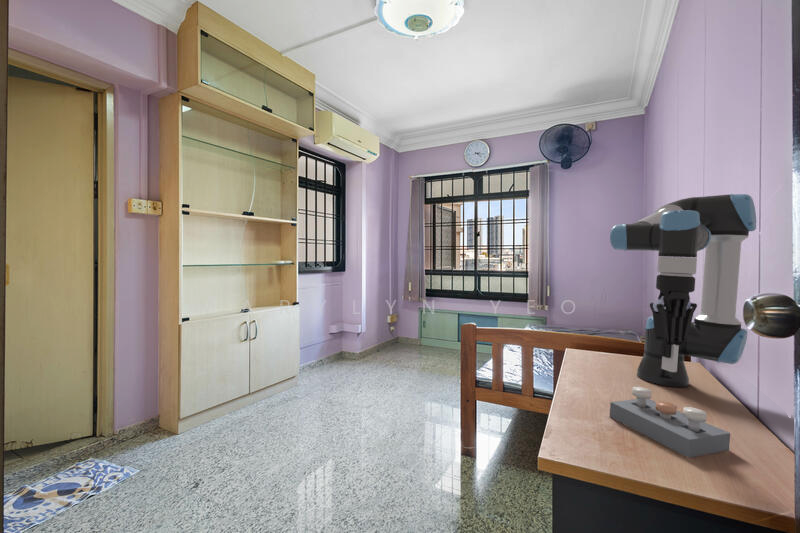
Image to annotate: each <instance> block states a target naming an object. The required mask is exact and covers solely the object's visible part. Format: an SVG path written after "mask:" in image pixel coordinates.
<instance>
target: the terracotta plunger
mask: <svg viewBox="0 0 800 533" xmlns="http://www.w3.org/2000/svg"><path fill="white" fill-rule="evenodd" d="M655 402H656V408H655V409H656V410H657V411H659V412H660V417H662V418H664V419H666V420H671V415H675V414H676V413H677V411H678V410H677V408H678V406H677V405H676V404H673V403H671V402H668V401H662V400H658V401H657V400H656V401H655Z"/></svg>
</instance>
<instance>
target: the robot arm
mask: <svg viewBox="0 0 800 533" xmlns="http://www.w3.org/2000/svg"><path fill="white" fill-rule="evenodd" d="M754 202H755V201H754V199H753V197H752V196H751V195H749V194H747V193H746V194H743V193H739V194H736V193H735V194H734V193H731V194H722V195H721V194H720V195H708V196H697V197H696V196H693V197H686V198H682V199H678V200H675V201H672V202H670V203H667V204H664V205H662V206H660V207H658V208H657V209H656V210H655V211H654V213H653V214H650V215H648V216H646V217H644V218H642V219H640V220H637V221H635V222H633V223H623V224H616V225H614V226H613V227H612V228H611V231H610V235H609V242H610V246H611V247H612V249H614V250H619V251H652V252H654V251H658V258H657V259H658V260H657V269H656V271H657V273H659V274H658V275H657V276H656V283H655V288H656V289H657V290H659V295H658V296H657V299H658V300H657V301H656V302H650V304H649V308H650V309H651V313H652V315H651V316H649V317H648V318H647V319H646V324H645V336H644V350H643V351H644V352H643V356H642V359H641V360H640V363H639V365H638V367H637V370H636V376H637V377H638V376H639V377H640V378H639V377H638V378H639V379H641V378H642V379H641V380H643V379H644V380H643V381H646V382H648V381H649V382H648V383H651V382H652V384H655V383H656V385H660V386H665V387H672V388H686V387H689V385H690V378H689V375H688V371H687V368H686V365H685V356H688V357H690V358H691V357H693V358H698V359H703V360H708V361H712V362H716V363H723V364H729V365H735V364H737V363H738V362H739V361H740V360H741V358H742V355H743V353H744V350H745V347H746V343H747V341H748V340H747V339H748V330H747V329H744V328H742V322H741V321H740V320H739V319H738V318H737V317H736V314H737V313H736V312H737V300H738V290H739V288H738V287H739V277H740V276H739V274H740V264H741V263H740V260H741V251H742V243H743V242H744V241H745V240H747V239H748V238H749V232H753V231H754V232H755V231H756V229H757V213H756V207H755V206H756V205H755V203H754ZM704 249H705V251H704V252H705V253H704V266H703V276H702V280H703V281H702V291H701V302H700V303H701V305H700V307H701V308H700V313H699V314H698V315H695V317H694V313H695V311H696V309H697V307H698V304H697V303H694V302H692V301H691V297H690V293H693V292H695V290H696V289H695V288H696V277H695V276H693V275H696V274H697V266H698V265H697V264H698V263H697V261H698V252H699V251H702V250H704ZM693 317H694V318H693ZM692 320H693V321H694V322H693V321H692Z"/></svg>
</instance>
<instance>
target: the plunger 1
mask: <svg viewBox="0 0 800 533" xmlns="http://www.w3.org/2000/svg"><path fill="white" fill-rule="evenodd" d="M631 392H632V393H631V394H632V395H633V396H634V397H636V406H637V407H640V408H642V409H643V408H646V399H650V400H652V394H653V393H652V392H653V391H652V390H651V389H649V388H646V387H642V386H633V387H632V391H631Z"/></svg>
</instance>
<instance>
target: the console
mask: <svg viewBox="0 0 800 533" xmlns="http://www.w3.org/2000/svg"><path fill="white" fill-rule="evenodd" d="M655 408H656V401H654V400H653V399H646V408H643V409H642V408H640V407H637V406H636V399H635V398H634V399H625V400H619V401H618V400H617V401H610V406H609V417H610V418H612V419H613V420H614V421H617V422H619V423H621V424H623V425H625V426H626V427H628V428H630V429H632V430H635V431H637V432H638V433H640V434H642V435H644V436H645V437H647V438H649V439H652V440H654V441H655V442H657V443H659V444H661V445H663V446H664V447H666V448H669V449H671V450H673V451H674V452H676V453H678V454H680V455H682V456H684V457H686V458H694V457H699V456H700V457H701V456H704V455H705V456H706V455H712V454H717V453H722V452H726V451H727V452H728V451H730V444H731V443H730V441H731V432H729V431H726V430H724V429H722V428H719V427H717V426H714V425H712V424H710V423H708V422H700V433H695V432H693V431H690V430H688V429H687V427H688V418H686V417H684V416H683V412H681V411H678V410H677V413H676V414H675V415H671V420H666V419H664V418H662V417H660V412H659V411H657V410H656V409H655Z"/></svg>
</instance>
